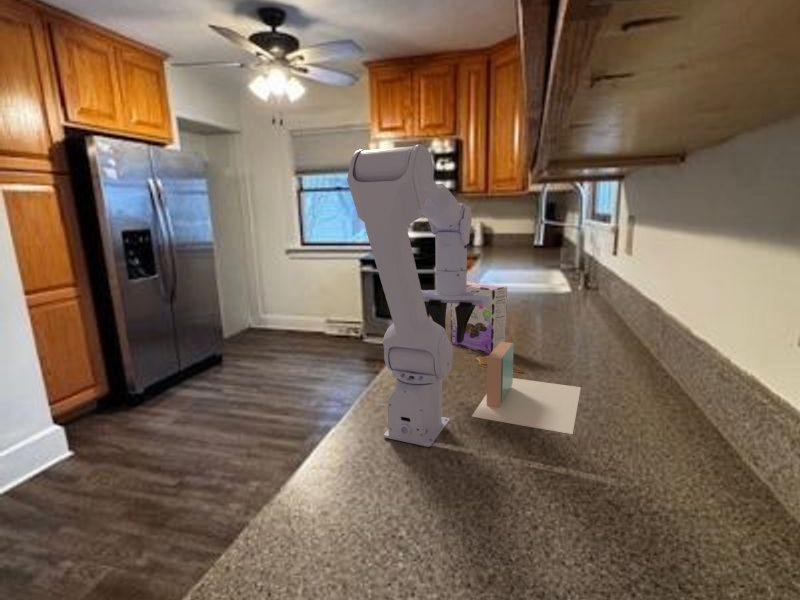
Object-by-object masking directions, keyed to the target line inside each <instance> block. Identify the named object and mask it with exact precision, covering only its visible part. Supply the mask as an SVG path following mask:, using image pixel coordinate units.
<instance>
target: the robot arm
mask: <svg viewBox="0 0 800 600" xmlns="http://www.w3.org/2000/svg"><path fill="white" fill-rule="evenodd" d="M346 182H347V184H348V187H349V190H350V194H351V197H352V201H353V204H354V207H355V211H356V213H357V217H358V219H359V220H361V221H362V222H363V223H364V226H365V227H364V228H365V232H366V235H367V239H368V242H369V244H370V249H371V253H372V255H373V259H374V263H375V265H376V268H377V271H378V272H377V273H378V276H379V279H380V282H381V285H382V290H383V292H384V295H385V300H386V303H387V306H388V309H389V313H390V316H391V319H392V324H390V325H389V326H388V328H387V330H386V332H385V333H384V336H383V338H382V345H383V350H384V351H383V358H384V363H385V365H386V367H387V369H388V371H391V374H392V378H395V379H396V384H395V388H394V389H393V391H392V392H391V394H390V395H389V397H388V401H387V415H388V417H387V422H388V429H387V430H386V431H385V432H384V433H383V437H384V438H385V439H390V440H395V441H400V442H404V443H408V444H413V445H418V446H421V447H427V448H429V447H432V446H433V444H434V443H435V442H436V439H437V437H438V436H439V435H440V433H441V432H442V430H443V429H444V428H445V427H446V425H447V424H448V423H449V421H450V420H451V418H449V417H445V416H442V413H443V412H442V410H443V409H442V404H443V403H442V402H443V401H442V398H443V397H442V394H443V393H442V392H443V391H442V388H443V387H442V384H443V383H442V380H443V379H444V378H446V377H447V375H448V374H449V373H450V371H451V369H452V367H453V366H452V365H453V358H454V348H453V344H451V339H449V337H448V334H447V331H446V317H447V316H446V315H447V307H448V306H447V305H448V304H451V303H456V304H459V305H458V306H457V307H455V312H456V319H457V342H458V343H461V342H462V341H463V340H464V334H465V330H466V327H467V323H468V321H469V318H470V316H471V314H472V312H473V310H474V308H475V305H482V306H487V307H488V306H489V305H490V304H491V294H482V293H475V292H467V281H468V280H467V279H468V277H467V276H468V275H467V274H468V273H467V270H468V267H467V266H468V263H467V262H468V259H467V258H468V256H467V254H468V245H469V244H470V235H471V230H472V229H471V228H472V221H473V220H472V219H473V218H472V210H471V207H470V206H469V205H466V203H465V202H459V201H458V200H457V198H455V196H454V195H453V194H452V192H451V191H450V189H448V188H447V186H446V185H445V184H444V183H436V182H435V180H434V164H433V158H432V155H431V153H430V150H428V149H427V147H426V146H425V145H424V144H421V143H420V144H415V145H413V146H399V147H388V148H377V149H376V148H375V149H362V148H361V149H358V150H356V151H355V152H354V153H353V155H352V157H351V160H350V163H349V167H348V173H347V178H346ZM422 216H424V217H425V218H426V220H427V221H428V224H429V228H430V230H431V233H432V235H435V236H434V237H435V289H427V290H426V289H422V288H421V287H422V286H421V282H420V278H419V274H418V270H417V266H416V261H415V257H414V253H413V249H412V245H411V239H410V236H409V232H408V226H409V225H410V224H412V223H414V222H415V221H417V220H419V219H420V218H421V217H422ZM425 302H427V305H426V304H425ZM428 314H429V315H430V317H428ZM430 318H431V319H430Z"/></svg>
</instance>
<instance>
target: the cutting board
mask: <svg viewBox="0 0 800 600" xmlns="http://www.w3.org/2000/svg"><path fill="white" fill-rule="evenodd" d="M581 389H582V387H580V386H574V385H566V384H558V383H553V382H551V383H550V382H545V381H544V382H543V381H537V380H531V379H521V378H517V377H513V384H512V387H511V389H510V391H509V393H508V395H507V396H506V398H505V400H504V402H503V404H502V405H501V407H500V408H497V407H491V406H487V393H486V394H485V395H484V397H483V398H482V400H481V402H480V403H479V404H478V406H477V407H476V409H475V410H474V412H473V414H472V415H471V417H472V418H479V419H483V420H489V421H493V422H499V423H507V424H512V425H517V426H524V427H528V428H534V429H541V430H546V431H550V432H557V433H563V434H567V435H574V430H575V424H576V417H577V414H578V413H577V412H578V406H579V400H580V395H581Z"/></svg>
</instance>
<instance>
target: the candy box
mask: <svg viewBox="0 0 800 600" xmlns="http://www.w3.org/2000/svg"><path fill="white" fill-rule="evenodd" d="M467 292H475V293H482V294H491V304H490V305H489V306H488V307H487V306H482V305H475V308H474V310H473V312H472V314H471V316H470V318H469V321H468V323H467V327H466V330H465V334H464V340H463V341H462V342H461V343H458V342H457V319H456V312H455V307H457V306H458V305H459V304H456V303H450V342H451V344H452V345H455V346H458V347H463V348H465V349H470V350H473V351H477V352H480V353H485V354H487V355H490V354H491V352H492V351H493V350H494V349H495V348H496V346H497V345H498V344H499V343H500V342H506V332H507V331H506V329H507V328H506V326H507V308H508V307H507V305H508V304H507V301H508V286H506V285H500V284H499V285H498V284H490V283H484V282H483V283H482V282H476V281H475V282H474V281H469V280H467Z"/></svg>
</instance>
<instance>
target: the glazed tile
mask: <svg viewBox="0 0 800 600" xmlns="http://www.w3.org/2000/svg"><path fill="white" fill-rule="evenodd" d="M514 346H515V344H514V343H513V342H508V341H505V342H500V343H499V344H498V345H497V346H496V348H495V349H494V350H493V351H492V352H491V354H488V355H487V356H488V357H487V367H486V394H487V406H491V407H497V408H500V407H501V405H502V404H503V402H504V400H505V398H506V396H507V395H508V393H509V391H510V389H511V387H512V384H513V378H514V376H513V375H514V371H513V364H514V351H515V350H514V349H515V347H514Z"/></svg>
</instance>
